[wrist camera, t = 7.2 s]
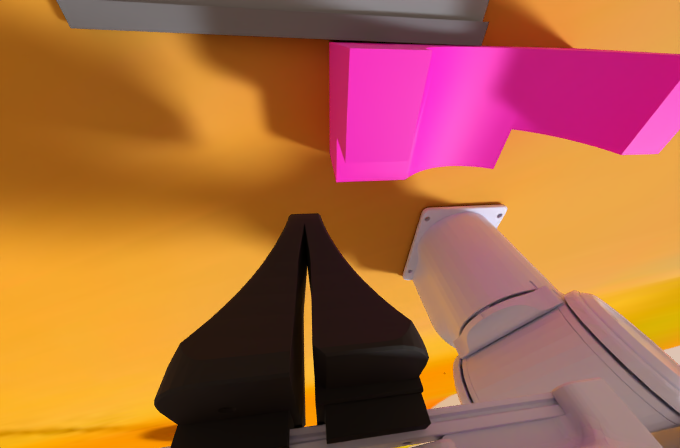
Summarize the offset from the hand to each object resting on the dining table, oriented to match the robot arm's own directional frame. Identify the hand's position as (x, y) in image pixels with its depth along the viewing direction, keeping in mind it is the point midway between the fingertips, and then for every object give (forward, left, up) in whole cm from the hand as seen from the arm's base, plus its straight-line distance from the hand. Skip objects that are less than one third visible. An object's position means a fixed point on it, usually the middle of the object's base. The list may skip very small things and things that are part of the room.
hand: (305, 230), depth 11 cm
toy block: (+4, -9, -8) cm, 13 cm away
